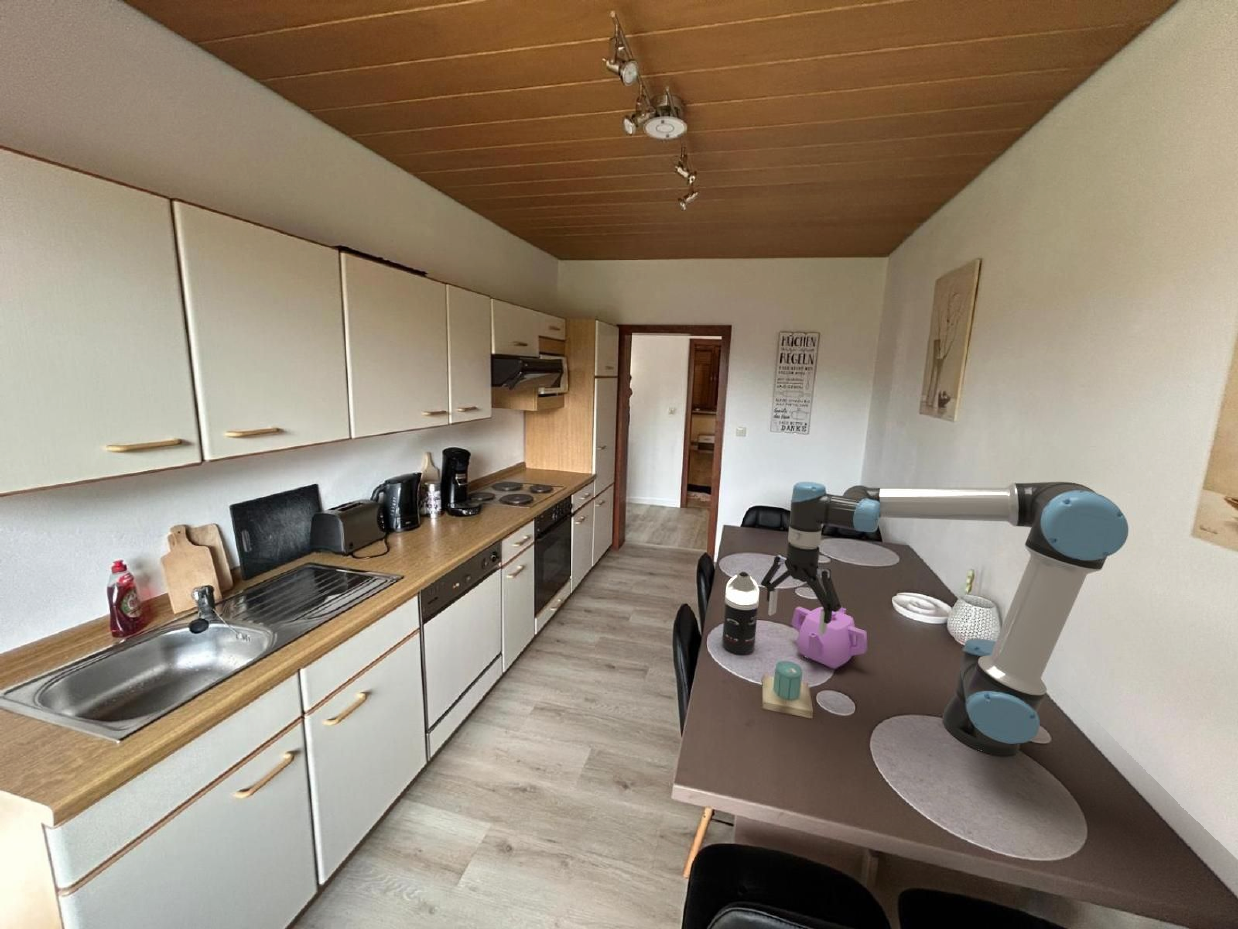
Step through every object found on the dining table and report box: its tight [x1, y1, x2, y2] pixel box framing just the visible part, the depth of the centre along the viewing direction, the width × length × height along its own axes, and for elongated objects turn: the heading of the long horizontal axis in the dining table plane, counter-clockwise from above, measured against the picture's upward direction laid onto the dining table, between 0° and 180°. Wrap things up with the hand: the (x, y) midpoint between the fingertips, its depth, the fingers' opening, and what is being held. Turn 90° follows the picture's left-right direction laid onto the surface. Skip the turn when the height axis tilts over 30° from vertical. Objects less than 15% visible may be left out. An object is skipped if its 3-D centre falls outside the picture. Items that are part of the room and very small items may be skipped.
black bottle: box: [721, 571, 760, 655], centre depth 151 cm, size 10×10×25 cm
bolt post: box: [761, 674, 814, 719], centre depth 128 cm, size 12×12×8 cm
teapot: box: [790, 605, 868, 670], centre depth 148 cm, size 19×18×15 cm
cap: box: [773, 660, 803, 700], centre depth 128 cm, size 6×6×8 cm
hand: (796, 623), depth 125 cm, fingers open, 13 cm apart
